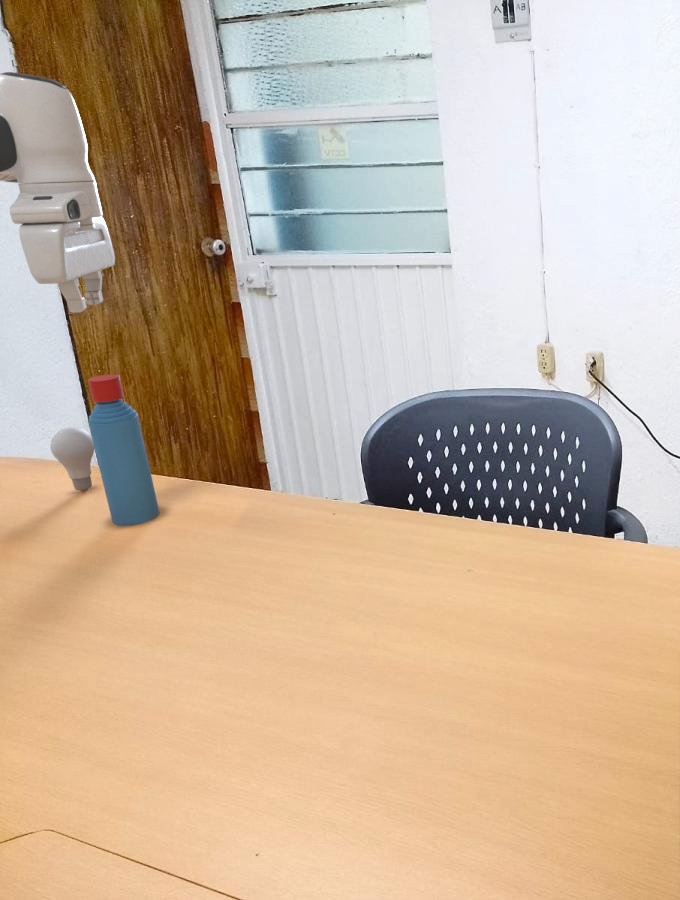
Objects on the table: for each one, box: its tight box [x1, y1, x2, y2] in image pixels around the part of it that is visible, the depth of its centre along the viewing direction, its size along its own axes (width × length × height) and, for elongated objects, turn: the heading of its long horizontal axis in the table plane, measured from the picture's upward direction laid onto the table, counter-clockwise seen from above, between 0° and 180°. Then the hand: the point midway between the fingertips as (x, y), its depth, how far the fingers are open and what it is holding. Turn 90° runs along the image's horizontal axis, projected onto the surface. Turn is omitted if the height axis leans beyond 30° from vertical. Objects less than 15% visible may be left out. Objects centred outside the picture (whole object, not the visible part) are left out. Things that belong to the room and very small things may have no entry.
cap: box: [87, 373, 125, 403], centre depth 120 cm, size 4×4×3 cm
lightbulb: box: [50, 426, 95, 493], centre depth 136 cm, size 6×6×11 cm
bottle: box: [87, 398, 160, 527], centre depth 123 cm, size 6×6×22 cm
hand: (87, 307), depth 116 cm, fingers open, 5 cm apart
